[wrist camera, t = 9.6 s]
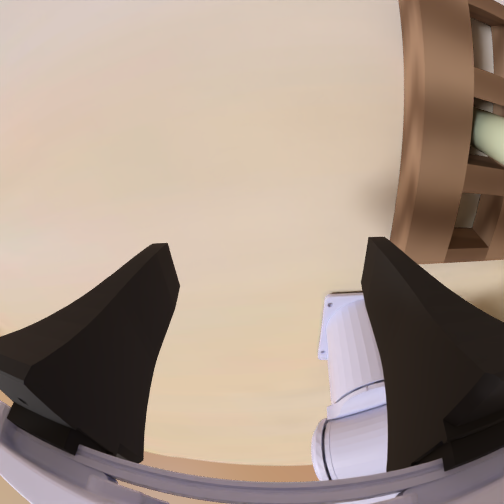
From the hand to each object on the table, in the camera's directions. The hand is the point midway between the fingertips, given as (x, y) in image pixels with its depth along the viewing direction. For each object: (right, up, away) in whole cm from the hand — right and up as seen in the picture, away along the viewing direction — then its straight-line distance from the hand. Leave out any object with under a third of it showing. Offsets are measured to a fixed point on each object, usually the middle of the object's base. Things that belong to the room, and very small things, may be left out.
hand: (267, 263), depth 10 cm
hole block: (+15, +10, +5) cm, 19 cm away
